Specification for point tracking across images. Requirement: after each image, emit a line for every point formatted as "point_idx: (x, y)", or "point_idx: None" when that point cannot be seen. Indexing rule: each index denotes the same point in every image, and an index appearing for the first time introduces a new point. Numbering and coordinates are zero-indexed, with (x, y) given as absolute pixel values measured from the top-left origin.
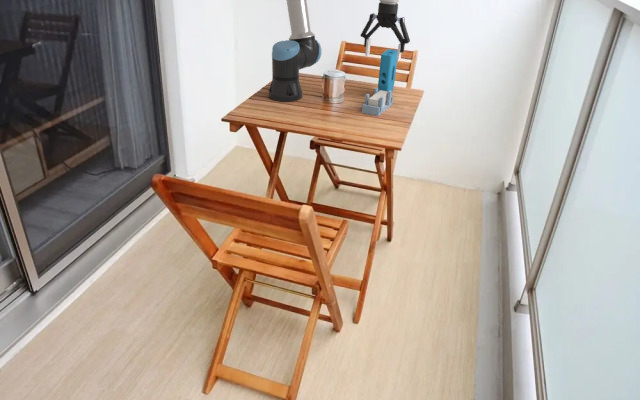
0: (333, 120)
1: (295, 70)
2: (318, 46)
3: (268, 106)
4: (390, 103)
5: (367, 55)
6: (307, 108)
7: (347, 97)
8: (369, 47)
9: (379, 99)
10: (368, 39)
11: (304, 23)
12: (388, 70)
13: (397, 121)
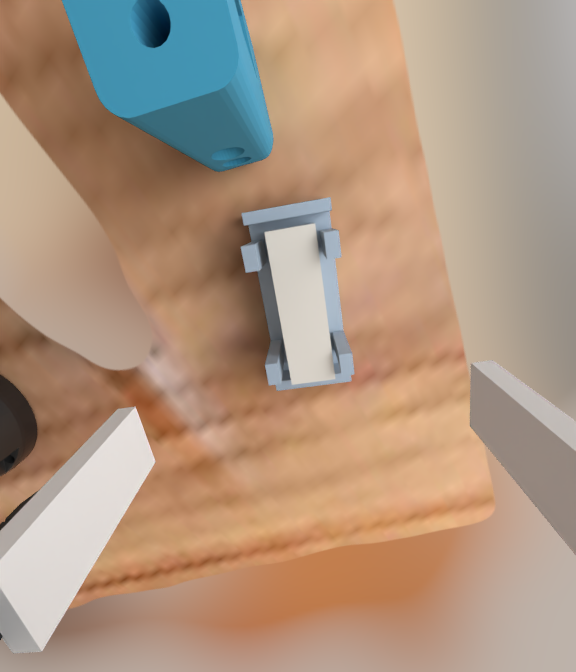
0: (251, 484)
1: None
2: None
3: None
4: (331, 228)
5: (149, 452)
6: None
7: (123, 260)
8: (95, 478)
9: (332, 356)
10: (21, 634)
11: None
12: (250, 133)
13: (430, 364)
